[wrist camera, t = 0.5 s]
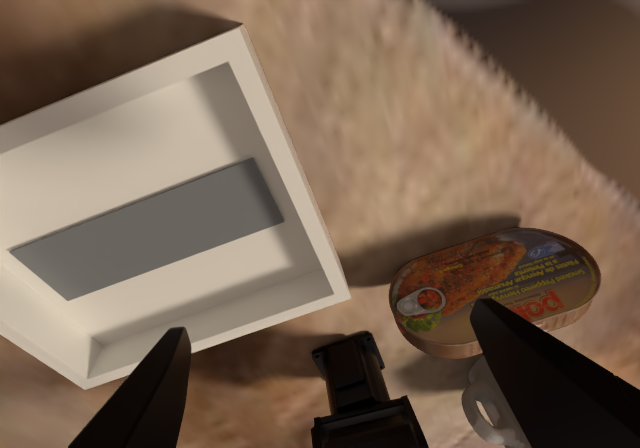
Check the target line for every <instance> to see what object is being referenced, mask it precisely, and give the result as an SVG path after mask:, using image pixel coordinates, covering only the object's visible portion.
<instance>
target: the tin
mask: <svg viewBox="0 0 640 448" xmlns="http://www.w3.org/2000/svg"><path fill="white" fill-rule="evenodd" d="M600 285H601V273H600V270H599V267H598V265H597V263H596V261H595V260H594V258H593V257H592V256H591V255H590V254H589V252H588V251H587V250H585V249H584V248H583V247H582V246H580V245H579V244H577V243H576V242H574V241H572V240H571V239H569V238H566V237H564V236H562V235H559V234H556V233H553V232H550V231H546V230H541V229H535V228H510V229H504V230H501V231H497V232H494V233H491V234H488V235H485V236H482V237H479V238H476V239H473V240H471V241H468V242H464V243H462V244H459V245H456V246H453V247H450V248H446V249H443V250H440V251H437V252H434V253H431V254H428V255H425V256H422V257H419V258H417V259H414V260H412V261H411V262H409V263H408V264H406V265H405V266H403V267H402V268H401V269H400V270H399V271H398V273H397V274H396V275H395V277H394V278H393V280H392V283H391V285H390V289H389V304H390V308H391V310H392V313H393V315H394V318H395V321H396V324H397V326H398V328H399V330H400V331H401V333H402V334H403V336H404V337H405V338H406V339H407V340H408V341H409V342H410V343H411V344H412V345H413V346H415V347H416V348H417V349H419V350H421V351H423V352H425V353H427V354H429V355H432V356H435V357H439V358H445V359H462V358H468V357H471V356H474V355H478V354H481V353H483V352H482V350H481V347H480V345H479V343H478V340H477V338H476V335H475V333H474V330H473V328H472V326H471V323H470V313H471V311H472V308H473V305H474V303H475V300H476V299H477V298H484V297H490V298H492V299H494V300H495V301H497V302H499V303H500V304H502V305H504V306H505V307H507V308H508V309H510V310H512V311H513V312H515V313H516V314H518V315H520V316H521V317H523V318H524V319H526V320H528V321H529V322H531V323H532V324H534V325H536V326H537V327H539V328H540V329H542V330H544V331H545V332H549V331H553V330H556V329H559V328H562V327H565V326H568V325H570V324H572V323H574V322H576V321H577V320H579V319H580V318H581V317H582V316H583V315H584V314H585V313H586V311H587V310H588V308H589V307H590V305H591V303H592V300H593V298H594V297H595V296H596V295H597V293H598V291H599V289H600Z"/></svg>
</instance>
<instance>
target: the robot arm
mask: <svg viewBox="0 0 640 448" xmlns="http://www.w3.org/2000/svg"><path fill="white" fill-rule="evenodd" d="M470 323H471V326H472V328H473V330H474V333H475V335H476V338H477V340H478V343H479V345H480V347H481V350H482V352H483V355H484V357H485V359H486V362H487V364H488V366H489V368H490V370H491V372H492V374H493V376H494V378H495V380H496V382H497V384H498V386H499V387H500V389H501V391H502V393H503V395H504V397H505V399H506V401H507V402H508V404H509V406H510V408H511V410H512V412H513V414H514V416H515V417H516V419H517V421H518V423H519V425H520V427H521V429H522V431H523V432H524V434H525V436H526V438H527V440H528V442H529V444H530V446H531V447H532V448H640V390H639V389H637V388H636V387H634V386H632V385H631V384H629V383H627V382H626V381H624V380H623V379H621V378H619V377H618V376H614V374H613V373H611V372H610V371H608V370H606V369H605V368H603V367H602V366H600V365H598V364H597V363H595V362H594V361H592V360H590V359H589V358H587V357H586V356H584V355H582V354H581V353H579V352H577V351H576V350H574V349H573V348H571V347H569V346H568V345H566V344H565V343H563V342H561V341H560V340H558V339H557V338H555V337H553V336H552V335H550V334H549V333H547V332H545V331H544V330H542V329H540V328H539V327H537V326H536V325H534V324H532V323H531V322H529V321H528V320H526V319H524V318H523V317H521V316H520V315H518V314H516V313H515V312H513V311H512V310H510V309H508V308H507V307H505V306H504V305H502V304H500V303H499V302H497V301H495V300H494V299H492V298H490V297H484V298H477V299H476V300H475V303H474V305H473V308H472V311H471V313H470ZM191 350H192V349H191V342H190V339H189V336H188V333H187V330H186V328H185V327H183V326H182V327H172V328H170V329H168V330H167V332H166V333H165V334H164V335H163V336H162V337H161V339H160V340H159V341H158V342H157V343H156V344H155V346H154V347H153V348H152V349H151V350H150V351H149V353H148V354H147V355H146V356H145V357H144V358H143V360H142V361H141V362H140V363H139V364H138V365H137V367H136V368H135V369H134V370H133V371H132V372H131V374H130V375H129V376H128V377H127V378H126V379H125V381H124V382H123V383H122V384H121V385H120V386H119V388H118V389H117V390H116V391H115V392H114V393H113V395H112V396H111V397H110V398H109V399H108V400H107V402H106V403H105V404H104V405H103V406H102V407H101V409H100V410H99V411H98V412H97V413H96V414H95V416H94V417H93V418H92V419H91V420H90V421H89V423H88V424H87V425H86V426H85V427H84V428H83V430H82V431H81V432H80V433H79V434H78V435H77V437H76V438H75V439H74V440H73V441H72V442H71V444H70V445H69V446H68V448H176V445H177V440H178V436H179V432H180V427H181V423H182V418H183V414H184V409H185V403H186V396H187V387H188V378H189V369H190V361H191ZM312 358H313V360H314V362H315V363H316V365H317V366H318V368H319V370H320V371H321V373H322V374H323V376H324V378H325V381H326V387H327V394H328V400H329V406H330V412H331V415H329V416H325V417H321V418H320V417H316V418H314V425H315V426H314V427H313V428H312V429H311V435H312V445H313V448H429V447H428V444H427V442H426V439H425V436H424V434H423V432H422V429H421V427H420V425H419V422H418V420H417V418H416V416H415V413H414V411H413V409H412V406H411V404H410V402H409V399H408V397H407V395H406V396H402V397H401V398H398V399H394V400H390V397H389V394H388V391H387V388H386V385H385V381H384V378H383V375H382V372H381V370H382V369H384V368H385V365H384V363H383V360H382V358H381V355H380V352H379V350H378V347H377V345H376V342H375V340H374V337H373V335H372V333H365V334H362V335H359V336H356V337H353V338H350V339H347V340H344V341H341V342H338V343H335V344H332V345H329V346H326V347H323V348H320V349H317V350H314V351H313V352H312Z"/></svg>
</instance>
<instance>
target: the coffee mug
mask: <svg viewBox="0 0 640 448" xmlns="http://www.w3.org/2000/svg"><path fill="white" fill-rule="evenodd" d="M468 379H469V382H470V384H471V385H470V386H468V387H467V388H466V389H465V390H464V392H463V394H462V406H463V410H464V412H465V415H466V417H467V419H468V421H469V423H470V424H471V426H472V427H473V429H474V431H475V432H476V433H477V434H478V435H479V436H480V437H481V438H482V439H484V440H485V441H487V442H489V443H491V444H496V445H504V446H505V448H532V447H531V446H530V444H529V442H528V440H527V438H526V436H525V434H524V432H523V431H522V429H521V427H520V425H519V423H518V421H517V419H516V417H515V416H514V414H513V412H512V410H511V408H510V406H509V404H508V402H507V401H506V399H505V397H504V395H503V393H502V391H501V389H500V387H499V386H498V384H497V382H496V380H495V378H494V376H493V374H492V372H491V370H490V368H489V366H488V364H487V362H486V359H485V357H484V355H483V356H481V357H480V358H479V359H478V360H477V361H476V362H475V363H474V364H473V366H472V367H471V369H470V371H469V374H468ZM476 400H477V401H479V402H481V404H482V406H483V407H484V409H485V411H486V413H487V415H488V417H489V418H490V420H491V422H492V424H493V426H492V425H490V424H489V423H488V422H487V421H486V420H485V418H484V417H483V415H482V414H481V412H480V410H479V408H478V406H477V403H476Z"/></svg>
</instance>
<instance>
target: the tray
mask: <svg viewBox="0 0 640 448" xmlns="http://www.w3.org/2000/svg"><path fill="white" fill-rule="evenodd" d="M348 299H351V295H350V292H349V289H348V285H347V282H346V279H345V275H344V272H343V268H342V265H341V262H340V260H339V257H338V255H337V252H336V250H335V247H334V245H333V242H332V240H331V237H330V235H329V232H328V230H327V227H326V225H325V223H324V220H323V218H322V215H321V213H320V210H319V208H318V205H317V203H316V200H315V198H314V195H313V193H312V190H311V188H310V185H309V183H308V181H307V178H306V176H305V173H304V171H303V168H302V166H301V163H300V161H299V158H298V156H297V153H296V151H295V148H294V146H293V143H292V141H291V139H290V136H289V134H288V131H287V129H286V126H285V124H284V121H283V119H282V116H281V114H280V111H279V109H278V106H277V104H276V101H275V99H274V97H273V94H272V92H271V89H270V87H269V84H268V82H267V79H266V77H265V74H264V72H263V69H262V67H261V64H260V62H259V59H258V57H257V55H256V52H255V50H254V47H253V45H252V42H251V40H250V37H249V35H248V32H247V30H246V27H245V25H244V24H242V25H240V26H237V27H235V28H232V29H230V30H228V31H225V32H223V33H220V34H218V35H216V36H213V37H211V38H208V39H206V40H204V41H201V42H199V43H196V44H194V45H191V46H189V47H187V48H184V49H182V50H179V51H177V52H175V53H172V54H170V55H167V56H165V57H163V58H160V59H158V60H155V61H153V62H150V63H148V64H146V65H143V66H141V67H138V68H136V69H134V70H131V71H129V72H126V73H124V74H122V75H119V76H117V77H114V78H112V79H109V80H107V81H105V82H102V83H100V84H97V85H95V86H93V87H90V88H88V89H85V90H83V91H81V92H78V93H76V94H73V95H71V96H68V97H66V98H64V99H61V100H59V101H56V102H54V103H52V104H49V105H47V106H44V107H42V108H40V109H37V110H35V111H32V112H30V113H27V114H25V115H23V116H20V117H18V118H15V119H13V120H11V121H8V122H6V123H3V124H1V125H0V335H2V336H3V337H5V338H7V339H8V340H10V341H11V342H13V343H14V344H16V345H17V346H19V347H20V348H22V349H23V350H25V351H26V352H28V353H29V354H31V355H32V356H34V357H35V358H37V359H38V360H40V361H42V362H43V363H45V364H46V365H48V366H49V367H51V368H52V369H54V370H55V371H57V372H58V373H60V374H61V375H63V376H64V377H66V378H67V379H69V380H70V381H72V382H74V383H75V384H77V385H78V386H80V387H81V388H83V389H84V390H86V389H89V388H92V387H95V386H98V385H101V384H104V383H107V382H109V381H112V380H115V379H118V378H121V377H124V376H127V375H130V374H131V372H132V371H133V370H134V369H135V368H136V367H137V365H138V364H139V363H140V362H141V361H142V360H143V358H144V357H145V356H146V355H147V354H148V353H149V351H150V350H151V349H152V348H153V347H154V346H155V344H156V343H157V342H158V341H159V340H160V339H161V337H162V336H163V335H164V334H165V333H166V332H167V330H168V329H170V328H172V327H182V326H183V327H185V328H186V330H187V333H188V336H189V339H190V342H191V349H192V350H191V353H194V352H197V351H200V350H203V349H206V348H209V347H211V346H214V345H217V344H220V343H223V342H226V341H229V340H232V339H235V338H238V337H241V336H243V335H246V334H249V333H252V332H255V331H258V330H261V329H264V328H267V327H270V326H273V325H275V324H278V323H281V322H284V321H287V320H290V319H293V318H296V317H299V316H302V315H305V314H308V313H310V312H313V311H316V310H319V309H322V308H325V307H328V306H331V305H334V304H337V303H340V302H342V301H345V300H348Z"/></svg>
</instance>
